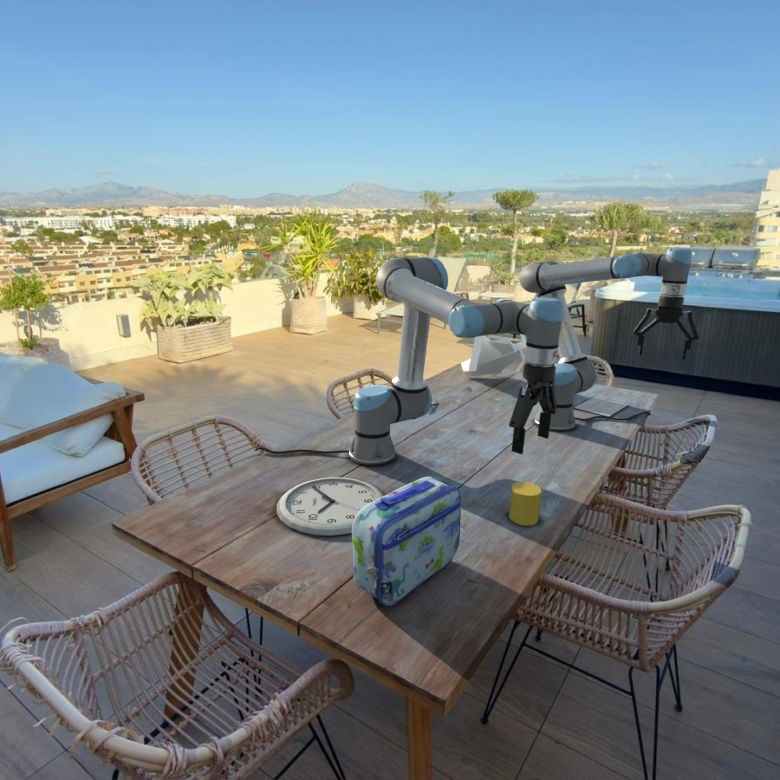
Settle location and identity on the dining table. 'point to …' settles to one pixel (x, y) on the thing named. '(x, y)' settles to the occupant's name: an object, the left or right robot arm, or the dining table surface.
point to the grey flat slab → (601, 406)
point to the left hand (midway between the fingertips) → (530, 444)
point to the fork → (434, 401)
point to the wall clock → (325, 505)
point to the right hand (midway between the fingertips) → (661, 356)
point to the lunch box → (405, 538)
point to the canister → (525, 503)
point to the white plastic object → (493, 356)
